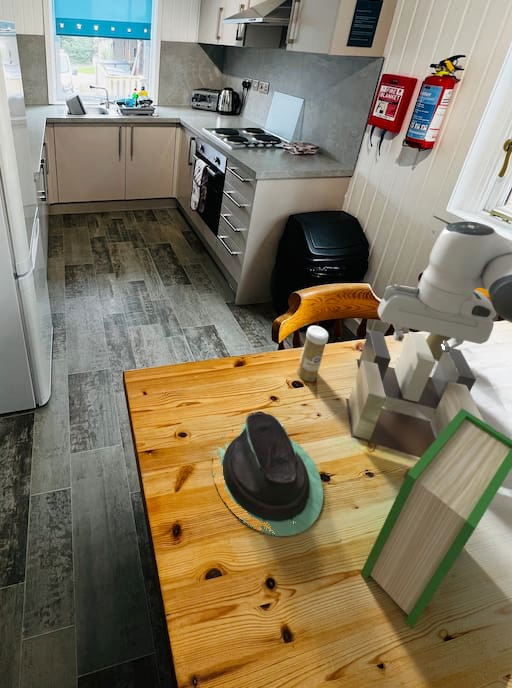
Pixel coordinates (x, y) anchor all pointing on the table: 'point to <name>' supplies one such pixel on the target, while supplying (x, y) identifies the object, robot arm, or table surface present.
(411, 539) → the hardback book
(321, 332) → the sprinkles bottle
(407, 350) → the upright white block
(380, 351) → the grey rack
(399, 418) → the light brown wooden rack
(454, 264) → the robot arm
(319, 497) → the black and teal hat
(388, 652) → the table surface
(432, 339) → the cork
